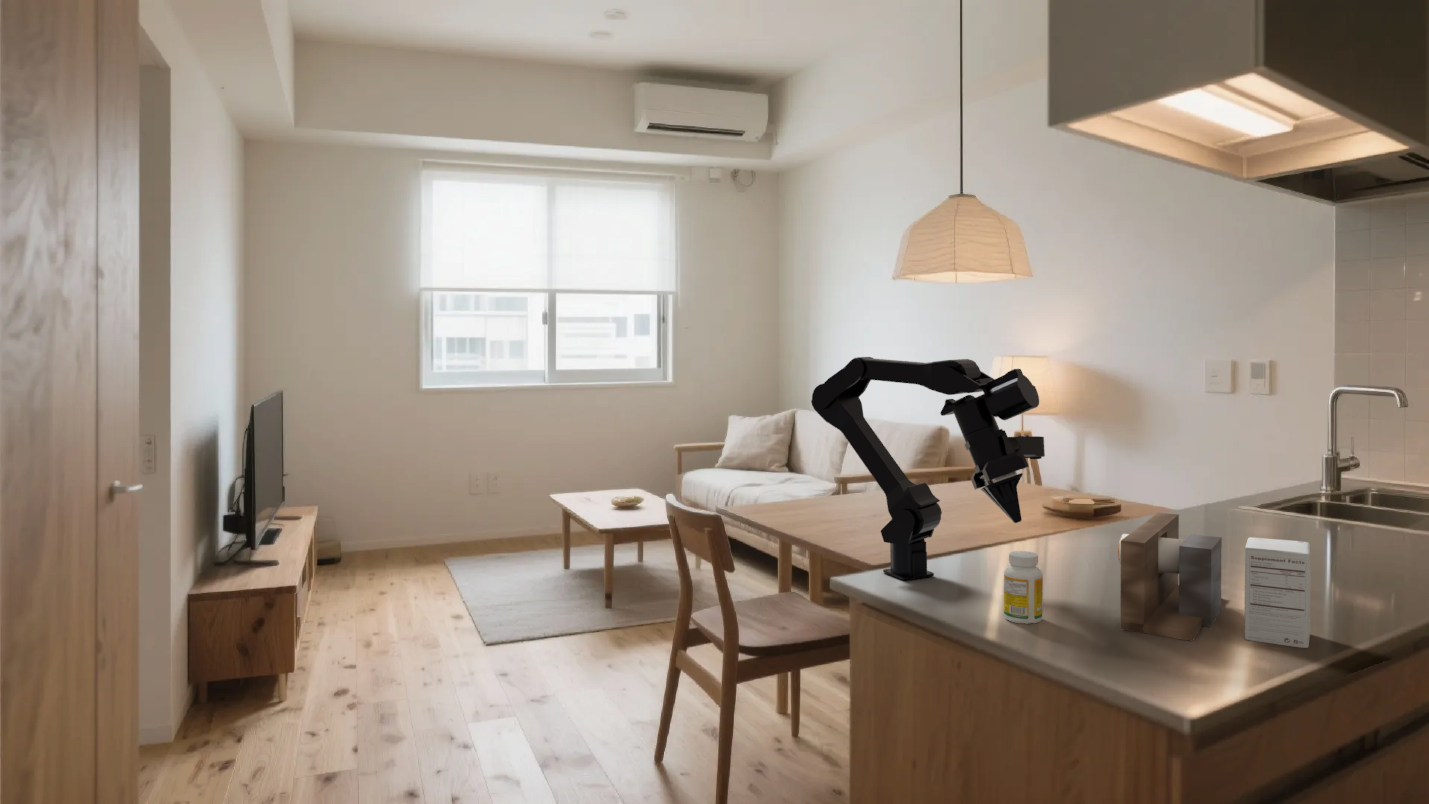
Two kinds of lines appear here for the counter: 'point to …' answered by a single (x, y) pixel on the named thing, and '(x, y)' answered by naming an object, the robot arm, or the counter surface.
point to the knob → (1164, 554)
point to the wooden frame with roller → (1169, 581)
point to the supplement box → (1277, 591)
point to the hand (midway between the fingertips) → (1018, 522)
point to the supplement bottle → (1023, 588)
